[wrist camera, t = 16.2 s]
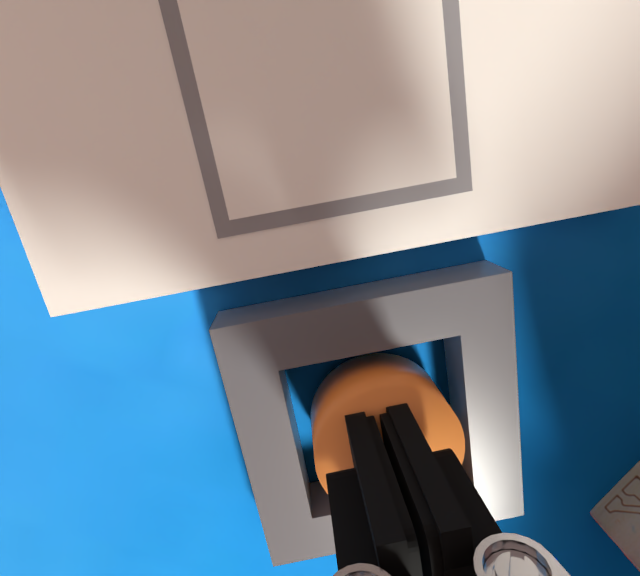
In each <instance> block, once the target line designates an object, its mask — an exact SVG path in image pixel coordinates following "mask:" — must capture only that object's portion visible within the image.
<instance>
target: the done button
mask: <svg viewBox="0 0 640 576" xmlns="http://www.w3.org/2000/svg"><path fill="white" fill-rule="evenodd" d="M404 403H407V404H408V406H409V408H410V410H411V412H412V414H413V416H414V417H415V419H416V421H417V423H418V425H419V427H420V429H421V431H422V433H423V435H424V437H425V439H426V440H427V442H428V444H429V446H430V448H431V450H432V452H433V451H438V450H443V449H448V448H450V449H452V450H453V452H454V453H455V455H456V456H457V458H458V460H459V461H460V463H461V465H462V463H463V459H464V454H465V437H464V432H463V429H462V426H461V423H460V421H459V419H458V417H457V416H456V414H455V413H454V411H453V410H452V408H451V407H450V405H449V404H448V403H447V401H446V400H445V398H444V397H443V395H442V394H441V392H440V391H439V389H438V388H437V386H436V385H435V384H434V382H433V381H432V379H431V378H430V376H429V375H428V374H427V373H426V372H425V371H424V370H423V369H422V368H421V367H420V366H419V365H417V364H416V363H415V362H413V361H411V360H409V359H407V358H404V357H402V356H399V355H395V354H388V353H372V354H365V355H361V356H357V357H355V358H352V359H350V360H348V361H346V362H344V363H342V364H340V365H339V366H338V367H336V368H335V369H334V370H332V371H331V372H330V373H329V374H328V375H327V376H326V377H325V379H324V380H323V381H322V382H321V384H320V385H319V387H318V389H317V391H316V393H315V395H314V398H313V401H312V406H311V427H312V439H313V450H314V461H315V469H316V473H317V476H318V479H319V481H320V483H321V485H322V487H323V488H324V490H325V491H326V493H327V494H328V489H327V481H326V474H327V473H331V472H336V471H341V470H346V469H351V468H354V465H353V460H352V454H351V449H350V443H349V438H348V433H347V427H346V422H345V416H344V415H349V414H354V413H359V412H365V414H366V417H368V416H374V417H375V420H376V423H377V426H378V429H379V431H380V434H381V437H382V440H383V435H382V429H381V423H380V414H383V413H386V407H389V406H394V405H399V404H404ZM383 443H384V442H383Z"/></svg>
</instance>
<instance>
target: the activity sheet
mask: <svg viewBox="0 0 640 576" xmlns="http://www.w3.org/2000/svg"><path fill="white" fill-rule="evenodd" d="M0 187H1V189H2V192H3V194H4V197H5V200H6V202H7V205H8V207H9V210H10V213H11V215H12V218H13V220H14V223H15V226H16V228H17V231H18V233H19V236H20V239H21V241H22V244H23V246H24V249H25V252H26V254H27V257H28V259H29V262H30V265H31V267H32V270H33V272H34V275H35V278H36V280H37V283H38V285H39V288H40V291H41V293H42V296H43V298H44V301H45V304H46V306H47V309H48V311H49V314H50V317H55V316H60V315H65V314H70V313H76V312H81V311H86V310H91V309H97V308H102V307H107V306H112V305H118V304H123V303H128V302H133V301H139V300H144V299H149V298H154V297H160V296H165V295H170V294H175V293H181V292H186V291H191V290H196V289H201V288H207V287H212V286H217V285H222V284H228V283H233V282H238V281H243V280H249V279H254V278H259V277H264V276H270V275H275V274H280V273H285V272H291V271H296V270H301V269H306V268H312V267H317V266H322V265H327V264H332V263H338V262H343V261H348V260H353V259H359V258H364V257H369V256H374V255H380V254H385V253H390V252H395V251H401V250H406V249H411V248H416V247H422V246H427V245H432V244H437V243H443V242H448V241H453V240H458V239H463V238H469V237H474V236H479V235H484V234H490V233H495V232H500V231H505V230H511V229H516V228H521V227H526V226H532V225H537V224H542V223H547V222H553V221H558V220H563V219H568V218H573V217H579V216H584V215H589V214H594V213H600V212H605V211H610V210H615V209H621V208H626V207H631V206H636V205H640V0H0Z"/></svg>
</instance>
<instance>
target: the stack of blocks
mask: <svg viewBox="0 0 640 576" xmlns="http://www.w3.org/2000/svg"><path fill="white" fill-rule="evenodd" d="M590 514H591V516H592V517H593V518H594V520H595V521H596V522H597V523H598V524H599V525H600V527H601V528H602V529H603V530H604V531H605V532H606V533H607V534H608V536H609V537H610V538H611V539H612V540H613V541H614V542H615V544H616V545H617V546H618V547H619V548H620V549H621V550H622V552H623V553H624V554H625V556H626V557H627V558H628V559H629V560H630V561H631V562H632V563H633V564H634V566H635V567H636V568H637V569H638V570H639V572H640V461H639V462H638V463H637V464H636V465H635V466H634V467H633V468H632V469H631V470H630V471H629V472H628V473H627V474H626V475H625V476H624V477H623V478H622V479H621V480H620V481H619V482H618V483H617V484H616V485H615V486H614V487H613V488H612V489H611V490H610V491H609V492H608V493H607V494H606V495H605V496H604V497H603V498H602V499H601V500H600V501H599V502H598V503H597V504H596V505H595V506H594V507H593V509H592V510H591V511H590Z"/></svg>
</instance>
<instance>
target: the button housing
mask: <svg viewBox="0 0 640 576" xmlns="http://www.w3.org/2000/svg"><path fill="white" fill-rule="evenodd" d="M209 332H210V336H211V340H212V343H213V347H214V351H215V354H216V358H217V362H218V365H219V369H220V373H221V376H222V380H223V384H224V387H225V391H226V395H227V398H228V402H229V406H230V409H231V413H232V417H233V420H234V424H235V428H236V431H237V435H238V439H239V442H240V446H241V450H242V453H243V457H244V461H245V464H246V468H247V472H248V475H249V479H250V483H251V486H252V490H253V494H254V497H255V501H256V505H257V508H258V512H259V516H260V519H261V523H262V527H263V530H264V534H265V538H266V541H267V545H268V549H269V552H270V556H271V560H272V563H273V566H278V565H283V564H288V563H293V562H298V561H303V560H308V559H312V558H317V557H322V556H327V555H332V554H336V550H335V542H334V535H333V527H332V519H331V512H330V504H329V496H328V494H327V493H326V491H325V490H324V488H323V487H322V485H321V483H320V481H316V482H311V483H310V482H309V477H308V473H307V468H306V464H305V459H304V455H303V451H302V446H301V442H300V437H299V433H298V428H297V424H296V419H295V415H294V410H293V406H292V401H291V397H290V393H289V388H288V384H287V379H286V375H285V370H286V369H291V368H296V367H301V366H306V365H311V364H317V363H322V362H327V361H332V360H337V359H342V358H347V357H352V356H357V355H363V354H368V353H373V352H378V351H383V350H388V349H393V348H398V347H403V346H409V345H414V344H419V343H424V342H429V341H434V340H439V339H444V349H445V359H446V368H447V378H448V388H449V398H450V407H451V408H452V410H453V411H454V413H455V414H456V416H457V417H458V419H459V421H460V423H461V426H462V429H463V432H464V437H465V454H464V459H463V463H462V466H463V468H464V470H465V471H466V473H467V475H468V476H469V478H470V480H471V481H472V483H473V485H474V486H475V488H476V490H477V491H478V493H479V495H480V496H481V498H482V500H483V501H484V503H485V505H486V507H487V508H488V510H489V512H490V513H491V515H492V517H493V518H494V520H495V521H498V520H503V519H508V518H513V517H517V516H522V515H524V502H523V482H522V462H521V441H520V421H519V401H518V381H517V360H516V340H515V320H514V300H513V279H512V272H511V271H509V270H507V269H505V268H503V267H501V266H498V265H496V264H494V263H492V262H490V261H487V260H483V261H478V262H473V263H467V264H462V265H457V266H452V267H447V268H441V269H436V270H431V271H426V272H421V273H415V274H410V275H405V276H400V277H395V278H389V279H384V280H379V281H374V282H369V283H363V284H358V285H353V286H348V287H342V288H337V289H332V290H327V291H322V292H316V293H311V294H306V295H301V296H296V297H290V298H285V299H280V300H275V301H270V302H264V303H259V304H254V305H249V306H244V307H238V308H233V309H228V310H223V311H218V313H217V315H216V317H215V319H214V321H213V323H212V325H211V327H210V329H209Z"/></svg>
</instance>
